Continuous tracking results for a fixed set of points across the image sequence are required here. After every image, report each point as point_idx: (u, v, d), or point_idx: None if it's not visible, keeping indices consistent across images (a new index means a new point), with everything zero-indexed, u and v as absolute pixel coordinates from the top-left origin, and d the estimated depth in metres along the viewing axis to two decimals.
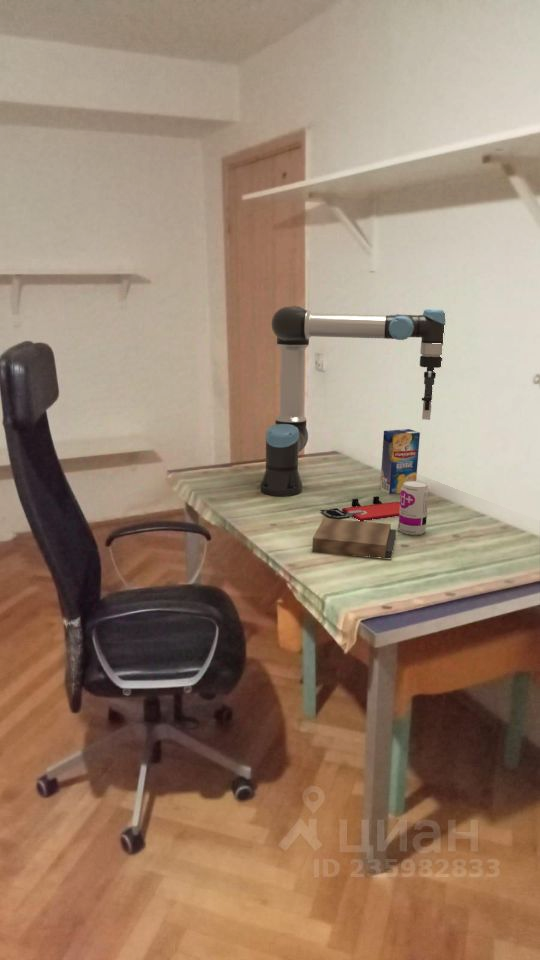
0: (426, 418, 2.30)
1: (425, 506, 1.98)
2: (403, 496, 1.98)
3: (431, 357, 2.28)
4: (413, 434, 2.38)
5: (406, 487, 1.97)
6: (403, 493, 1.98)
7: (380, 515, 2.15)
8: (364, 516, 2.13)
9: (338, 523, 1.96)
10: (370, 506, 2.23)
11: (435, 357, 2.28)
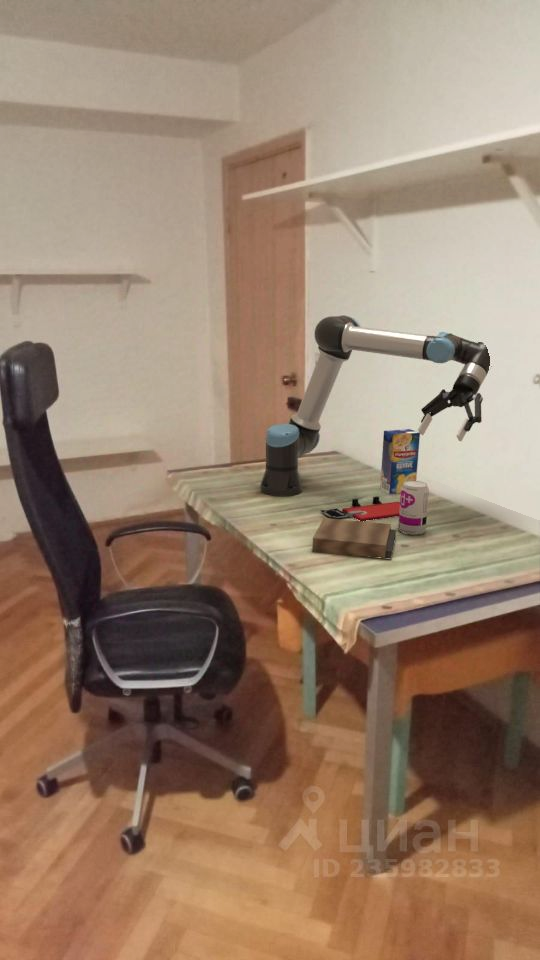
0: (460, 437, 1.99)
1: (425, 506, 1.98)
2: (403, 496, 1.98)
3: (478, 383, 2.07)
4: (413, 434, 2.38)
5: (406, 487, 1.97)
6: (403, 493, 1.98)
7: (380, 515, 2.15)
8: (364, 516, 2.13)
9: (338, 523, 1.96)
10: (370, 507, 2.23)
11: None
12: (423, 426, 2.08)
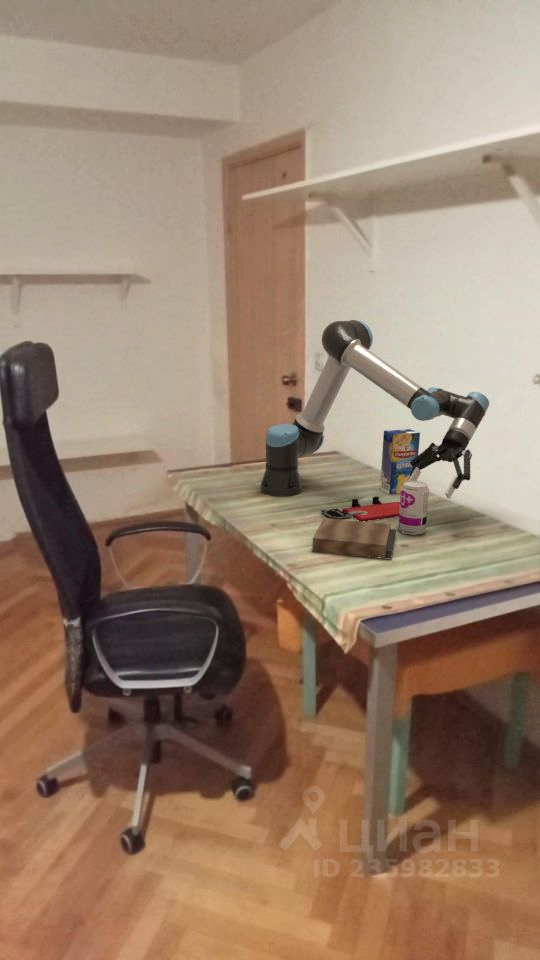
0: (449, 495, 1.98)
1: (425, 506, 1.98)
2: (403, 496, 1.98)
3: (468, 439, 2.06)
4: (413, 434, 2.38)
5: (406, 487, 1.97)
6: (403, 493, 1.98)
7: (381, 515, 2.14)
8: (364, 516, 2.13)
9: (338, 523, 1.96)
10: (370, 507, 2.23)
11: None
12: (412, 480, 2.07)
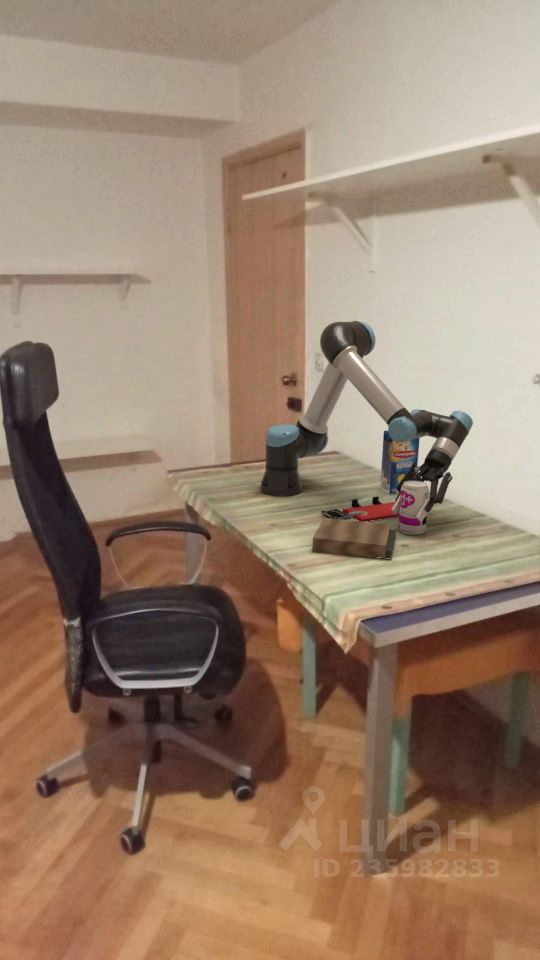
0: (420, 518, 1.96)
1: None
2: (403, 496, 1.98)
3: (450, 458, 2.03)
4: None
5: (406, 487, 1.97)
6: (403, 493, 1.98)
7: (381, 516, 2.14)
8: (365, 517, 2.12)
9: (338, 523, 1.96)
10: (370, 507, 2.22)
11: None
12: (397, 506, 2.02)
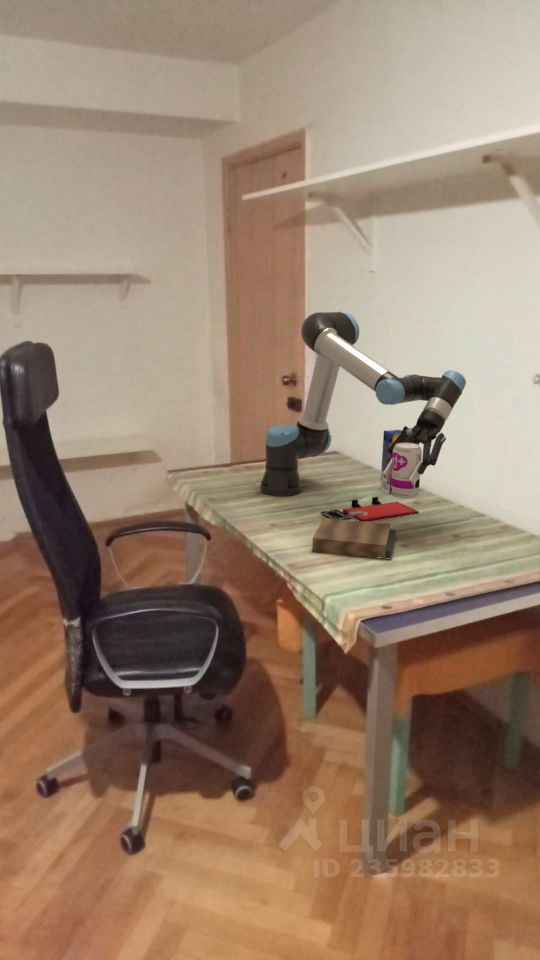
0: (413, 481, 1.89)
1: None
2: (395, 458, 1.91)
3: (443, 419, 1.96)
4: None
5: (398, 449, 1.90)
6: (395, 455, 1.91)
7: (381, 516, 2.14)
8: (365, 517, 2.12)
9: (338, 523, 1.96)
10: (370, 507, 2.22)
11: None
12: (389, 469, 1.95)
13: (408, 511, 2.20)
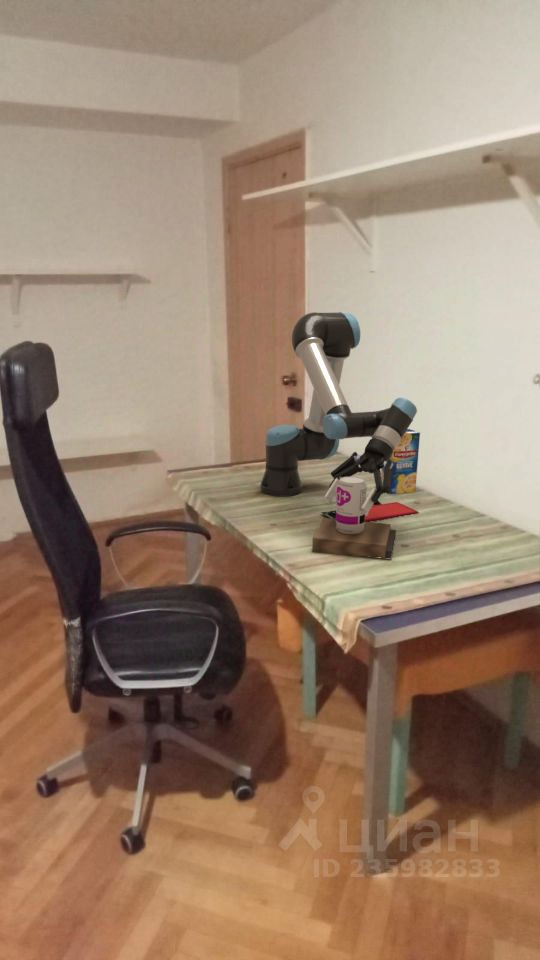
0: (366, 509, 1.82)
1: (362, 503, 1.86)
2: (339, 493, 1.86)
3: (391, 448, 1.91)
4: (413, 434, 2.38)
5: (342, 483, 1.85)
6: (339, 490, 1.86)
7: (382, 516, 2.14)
8: (366, 518, 2.12)
9: None
10: None
11: None
12: (330, 492, 1.92)
13: (408, 511, 2.20)
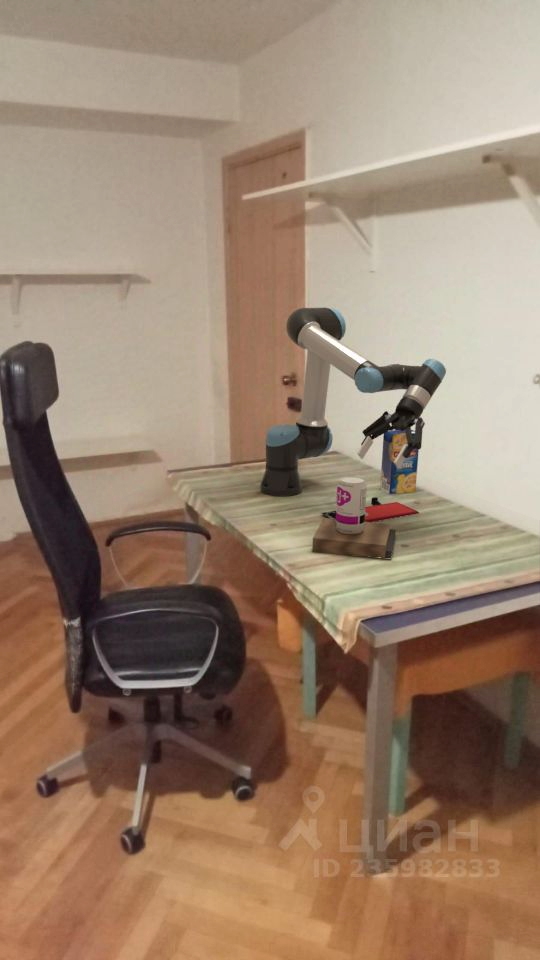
0: (398, 464, 1.89)
1: (362, 503, 1.86)
2: (339, 493, 1.86)
3: (421, 407, 1.98)
4: (413, 434, 2.38)
5: (342, 483, 1.85)
6: (339, 490, 1.86)
7: (382, 516, 2.14)
8: (367, 518, 2.12)
9: None
10: (370, 508, 2.22)
11: None
12: (363, 449, 1.99)
13: (408, 511, 2.19)
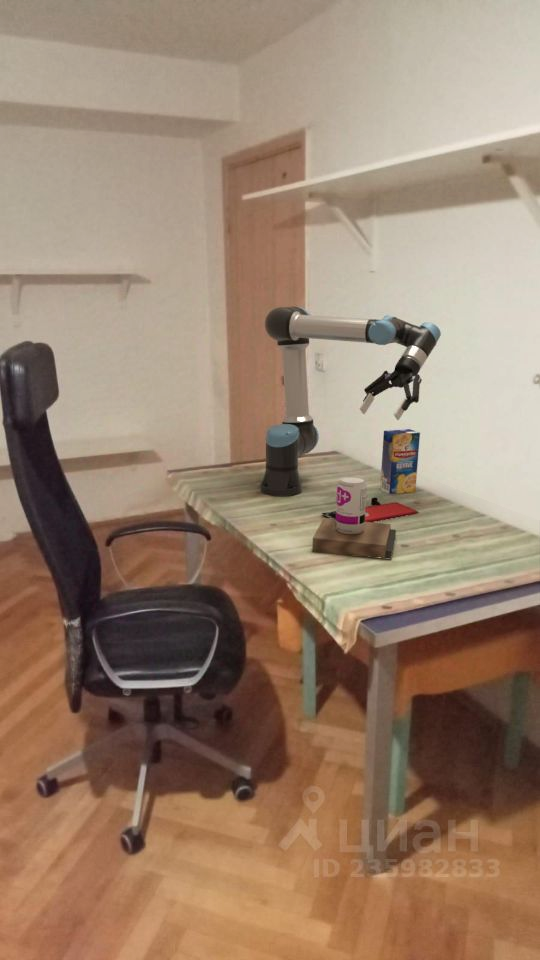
0: (397, 416, 2.07)
1: (362, 503, 1.86)
2: (339, 493, 1.86)
3: (418, 365, 2.15)
4: (413, 434, 2.38)
5: (342, 483, 1.85)
6: (339, 490, 1.86)
7: (383, 516, 2.13)
8: (367, 518, 2.11)
9: None
10: (370, 508, 2.21)
11: None
12: (365, 405, 2.16)
13: (408, 511, 2.19)
